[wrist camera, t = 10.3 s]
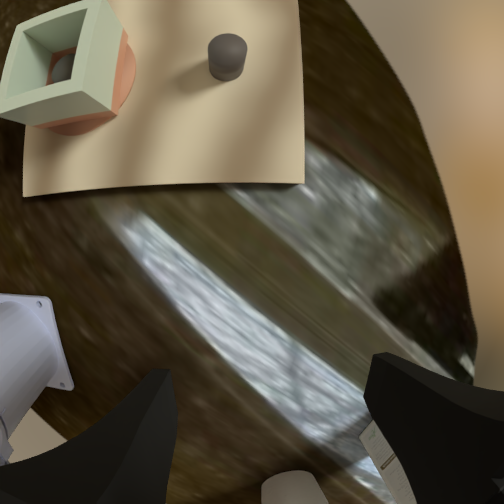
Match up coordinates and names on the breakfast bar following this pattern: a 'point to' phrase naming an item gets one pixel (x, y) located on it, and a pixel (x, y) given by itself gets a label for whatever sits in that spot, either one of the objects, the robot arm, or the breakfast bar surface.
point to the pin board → (186, 102)
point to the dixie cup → (292, 489)
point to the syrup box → (387, 464)
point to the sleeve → (83, 74)
